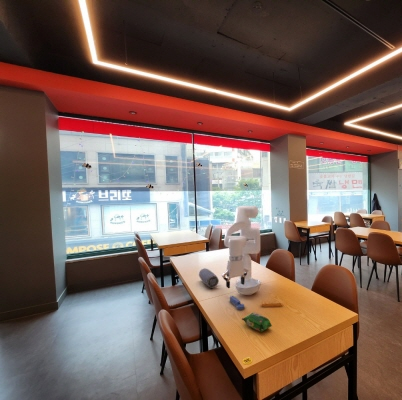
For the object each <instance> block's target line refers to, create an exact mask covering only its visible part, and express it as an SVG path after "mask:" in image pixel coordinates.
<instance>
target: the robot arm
mask: <svg viewBox="0 0 402 400" xmlns="http://www.w3.org/2000/svg"><path fill="white" fill-rule="evenodd" d="M235 212H236V213H235V216H234V217H235V218H234V223H233V224H231V225H230V226H229V227H228V228H227V230H226V231H225V235H224V240H223V244H224V247H225V248H229V249H228V260H227V263H226V271H225V272H223V274H221V277H222V278H223V280H224V281H225V286H226V289H230V288H231V279H235V278H238V279H237V280H236V283H237V282H238V281H240V280H241V284H243V285H244V282H245V279H254V278H253V277H252V258H251V257H252V256H251V255H253V254H254V255H255V254H259V253H261V230H260V228H259V227H252V221H251V219H255V218H257V217H258V216H259V206H257V205H238V206H236V208H235ZM236 232H239V235H233V234H234V233H236ZM250 254H251V255H250Z"/></svg>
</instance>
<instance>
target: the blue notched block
mask: <svg viewBox="0 0 402 400" xmlns="http://www.w3.org/2000/svg"><path fill="white" fill-rule="evenodd" d="M229 299H230V300H229V302H230V303H231V304H232V305H234V306H235V307H236V310H238V311H243V310H244V309H245V304H244V303H241V300H239V299H238V298H237V297H235V296H234V295H232V296H230V297H229Z"/></svg>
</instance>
